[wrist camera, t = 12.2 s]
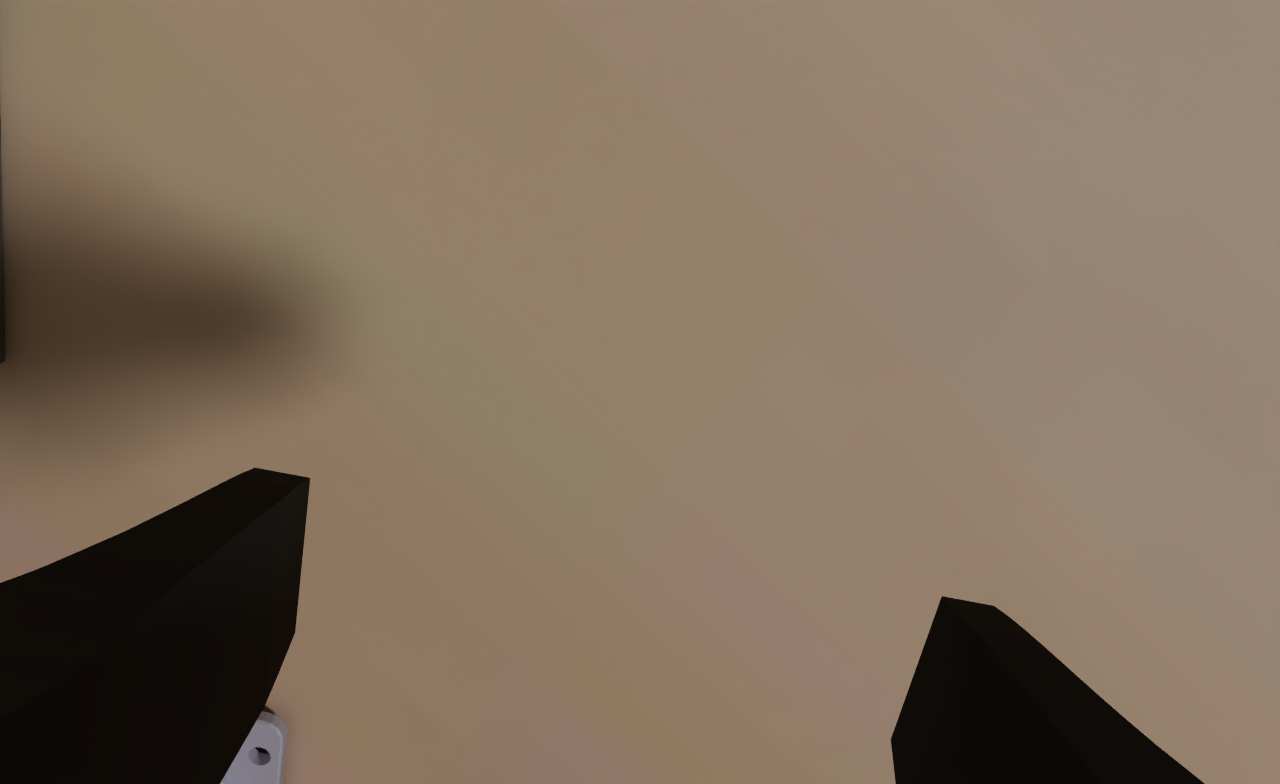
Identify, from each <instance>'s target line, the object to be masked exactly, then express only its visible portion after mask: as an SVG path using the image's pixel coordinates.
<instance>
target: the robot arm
mask: <svg viewBox="0 0 1280 784" xmlns="http://www.w3.org/2000/svg"><path fill="white" fill-rule="evenodd" d="M309 484H310V478H307V477H302V476H296V475H291V474H286V473H280V472H275V471H270V470H264V469H259V468H253V469H251V470H249V471H246V472H244V473H242V474H239V475H237V476H235V477H233V478H231V479H229V480H227V481H225V482H223V483H221V484H219V485H217V486H215V487H213V488H211V489H209V490H207V491H205V492H203V493H201V494H199V495H197V496H195V497H194V498H192V499H190V500H188V501H186V502H184V503H182V504H180V505H178V506H176V507H174V508H172V509H170V510H168V511H166V512H164V513H161V514H159V515H157V516H155V517H153V518H151V519H149V520H147V521H145V522H143V523H141V524H139V525H137V526H135V527H133V528H131V529H129V530H127V531H125V532H123V533H120V534H118V535H116V536H113V537H111V538H109V539H107V540H104V541H102V542H100V543H97V544H95V545H93V546H90V547H88V548H86V549H84V550H81V551H79V552H77V553H74V554H72V555H70V556H67V557H65V558H63V559H61V560H58V561H56V562H54V563H51V564H49V565H47V566H44V567H42V568H39V569H37V570H34V571H32V572H29V573H26V574H24V575H21V576H18V577H16V578H13V579H10V580H7V581H5V582H2V583H0V784H282V782H283V772H284V762H285V751H286V741H287V727H286V725H285V723H284V722H283V720H282V719H280V718H279V717H278V716H276V715H274V714H271V713H268V712H264V711H262V710H263V708H264V706H265V704H266V701H267V699H268V697H269V694H270V692H271V690H272V687H273V685H274V683H275V680H276V678H277V676H278V673H279V671H280V668H281V666H282V663H283V661H284V658H285V656H286V654H287V651H288V649H289V646H290V644H291V641H292V639H293V636H294V634H295V627H296V617H297V607H298V597H299V586H300V576H301V566H302V556H303V545H304V535H305V525H306V515H307V505H308V494H309ZM891 745H892V754H893V762H894V771H895V780H896V784H1204V783H1203V782H1202V781H1201V780H1199V779H1198V778H1197V777H1196V776H1194V775H1193V774H1192V773H1191V772H1189V771H1188V770H1187V769H1186V768H1184V767H1183V766H1182V765H1181V764H1179V763H1178V762H1177V761H1176V760H1174V759H1173V758H1172V757H1171V756H1169V755H1168V754H1167V753H1166V752H1164V751H1163V750H1162V749H1161V748H1159V747H1158V746H1157V745H1156V744H1154V743H1153V742H1152V741H1151V740H1150V739H1149V738H1147V737H1146V736H1145V735H1144V734H1143V733H1141V732H1140V731H1139V730H1138V729H1137V728H1135V727H1134V726H1133V725H1132V724H1131V723H1130V722H1128V721H1127V720H1126V719H1125V718H1124V717H1123V716H1122V715H1120V714H1119V713H1118V712H1117V711H1116V710H1115V709H1113V708H1112V707H1111V706H1110V705H1109V704H1108V703H1107V702H1105V701H1104V700H1103V699H1102V698H1101V697H1100V696H1099V695H1098V694H1096V693H1095V692H1094V691H1093V690H1092V689H1091V688H1090V687H1089V686H1087V685H1086V684H1085V683H1084V682H1083V681H1082V680H1081V679H1080V678H1079V677H1077V676H1076V675H1075V674H1074V673H1073V672H1072V671H1071V670H1070V669H1068V668H1067V667H1066V666H1065V665H1064V664H1063V663H1062V662H1061V661H1060V660H1058V659H1057V658H1056V657H1055V656H1054V655H1053V654H1052V653H1051V652H1050V651H1048V650H1047V649H1046V648H1045V647H1044V646H1043V645H1042V644H1041V643H1039V642H1038V641H1037V640H1036V639H1035V638H1034V637H1032V636H1031V635H1030V634H1029V633H1028V632H1027V631H1026V630H1024V629H1023V628H1022V627H1021V626H1020V625H1018V624H1017V623H1016V622H1015V621H1013V620H1012V619H1011V618H1010V617H1008V616H1007V615H1006V614H1004V613H1003V612H1002V611H1000V610H999V609H997V608H996V607H995V606H991V605H986V604H980V603H975V602H970V601H964V600H959V599H954V598H948V597H943V596H942V598H941V600H940V603H939V606H938V609H937V612H936V614H935V617H934V620H933V623H932V626H931V628H930V631H929V634H928V637H927V640H926V642H925V645H924V648H923V651H922V654H921V656H920V659H919V662H918V665H917V668H916V670H915V673H914V676H913V679H912V682H911V684H910V687H909V690H908V693H907V696H906V698H905V701H904V704H903V707H902V710H901V712H900V715H899V718H898V721H897V724H896V726H895V729H894V732H893V735H892V738H891ZM255 747H261V748H263V749H266V750H267V751H268V752H269V753H270V754H264V753H261V752H259V751H258V750H257V749H256V748H255Z"/></svg>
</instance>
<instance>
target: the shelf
mask: <svg viewBox="0 0 1280 784" xmlns="http://www.w3.org/2000/svg"><path fill="white" fill-rule="evenodd" d="M4 361H5V332H4V279H3V225H2V172H1V119H0V364H1V363H2V362H4Z"/></svg>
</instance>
